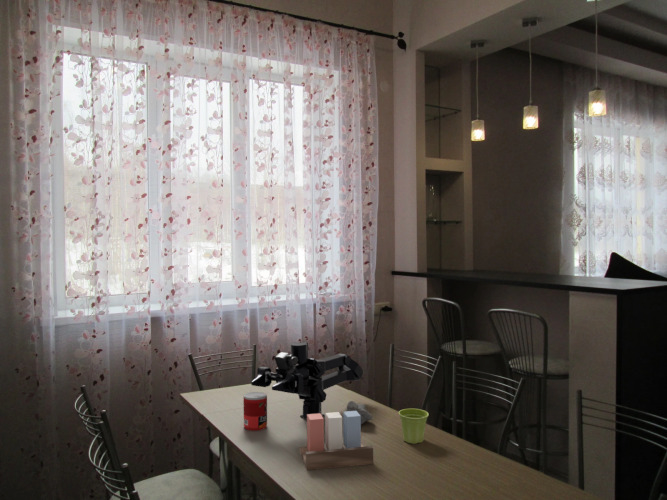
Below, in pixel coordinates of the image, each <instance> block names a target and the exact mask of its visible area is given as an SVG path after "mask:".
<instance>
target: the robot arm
mask: <svg viewBox="0 0 667 500" xmlns="http://www.w3.org/2000/svg"><path fill="white" fill-rule="evenodd" d="M274 361H275V363H276V368H275V372H272V369H271V368H270V367H268V366H260V367H258V368H257V376H256V377H255V378H254V379H253V380H252V381H251V382H250V384H251V386H253V387H260V388H261V387H262V388H266V387H267V388H268V387H270V386H271V384H272V382H273V381H275V383H276V384H274V385H272V386H271V390H272V391H276V392H283V393H288V394H293V395H294V394H296V395H298V399H299V400H303V401H302V403H303V405H302V414H301V415H299V417H300V418H303V419H306V420H307V414H318V413H320V414H321V415H322V417H323V418H324V417H325V413H324V414H323V413H322V403H324V401H326V399H327V393H326V392H325V391H326V390H327V389H329V388H332V387H334V386H336V385H339V384H341V383H344V382H346V381H348V382H355V381H360V380H361V379H362V377H363V375H364V370H363V368H362V366H361V365H360V364H359V363H358V362H357V361H355V360H354V359H353V358H352V357H351V356H350V355H349V354H345V353H337V354H334V355H331V356H328V357H327V356H326V357H325V358H321V359H315V358H310V357H309V342H305V341H304V342H292V343H290V353H288V352H285V351H283V352H282V351H281V352H279V353H278V354H276V355H275V356H274ZM335 368H336V369H337V370H336V371H333V372H330V373H328V374H326V375H325V373H326V372H327V371H331V370H332V369H335Z"/></svg>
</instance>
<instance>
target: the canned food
mask: <svg viewBox="0 0 667 500" xmlns="http://www.w3.org/2000/svg"><path fill="white" fill-rule="evenodd" d="M243 426H244V427H243V428H244V429H245V430H247V431H253V432H255V431H257V432H258V431H262V430H265V429H266V428H267V426H268V394H267V393H265V392H262V391H250V392H247V393H245V394H243Z"/></svg>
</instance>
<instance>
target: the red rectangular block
mask: <svg viewBox="0 0 667 500" xmlns="http://www.w3.org/2000/svg"><path fill="white" fill-rule="evenodd" d="M321 414H322V413H321ZM321 414H320V413H318V414H307V419H306V447H307V449H308V451H309V452H310V451H321V450H324V444H325V442H324V441H325V440H324V439H325V437H324V436H325V425H324V424H325V418H324V417H322V415H321Z"/></svg>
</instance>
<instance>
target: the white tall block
mask: <svg viewBox="0 0 667 500" xmlns="http://www.w3.org/2000/svg"><path fill="white" fill-rule="evenodd" d="M324 415H325V416H324V417H325V418H324V424H325V425H324V436H325V437H324V439H325V440H324V441H325V442H324V444H325V446H326V448H327V450H332V449H342V443H343V416H342V415H341V413H340V412H339V411H335V412H325V413H324Z"/></svg>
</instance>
